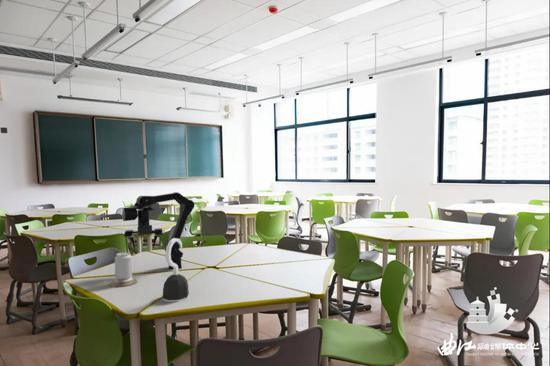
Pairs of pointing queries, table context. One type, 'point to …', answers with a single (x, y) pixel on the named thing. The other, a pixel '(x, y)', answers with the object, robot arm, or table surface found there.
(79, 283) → the table surface
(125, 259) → the can
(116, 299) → the table surface
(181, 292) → the hook
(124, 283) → the stub stand
